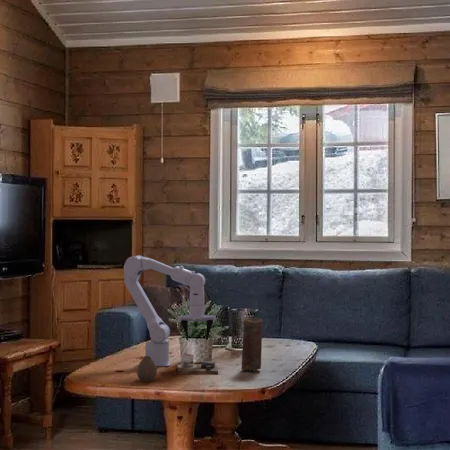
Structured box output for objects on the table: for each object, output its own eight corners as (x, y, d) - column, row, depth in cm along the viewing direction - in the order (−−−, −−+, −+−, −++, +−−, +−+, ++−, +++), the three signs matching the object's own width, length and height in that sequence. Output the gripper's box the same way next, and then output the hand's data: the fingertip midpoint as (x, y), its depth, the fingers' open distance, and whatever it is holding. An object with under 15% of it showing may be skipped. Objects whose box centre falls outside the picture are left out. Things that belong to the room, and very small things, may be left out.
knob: (178, 366, 343) (179, 353, 343) (189, 365, 345) (189, 352, 345) (184, 367, 339) (185, 355, 339) (195, 367, 341) (195, 354, 341)
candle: (263, 370, 346) (264, 317, 345) (258, 373, 339) (259, 320, 338) (244, 368, 348) (245, 316, 348) (238, 371, 341) (239, 318, 341)
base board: (177, 373, 335) (177, 365, 335) (177, 367, 349) (177, 358, 349) (218, 374, 336) (218, 365, 336) (216, 367, 350) (216, 359, 350)
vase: (137, 379, 323) (137, 354, 323) (156, 379, 324) (156, 354, 324) (136, 383, 316) (137, 358, 316) (156, 383, 317) (157, 358, 317)
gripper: (178, 305, 346) (178, 341, 346) (216, 305, 347) (216, 340, 347) (178, 304, 353) (178, 338, 354) (215, 303, 354) (215, 338, 354)
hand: (197, 339), depth 351 cm, fingers open, 7 cm apart
